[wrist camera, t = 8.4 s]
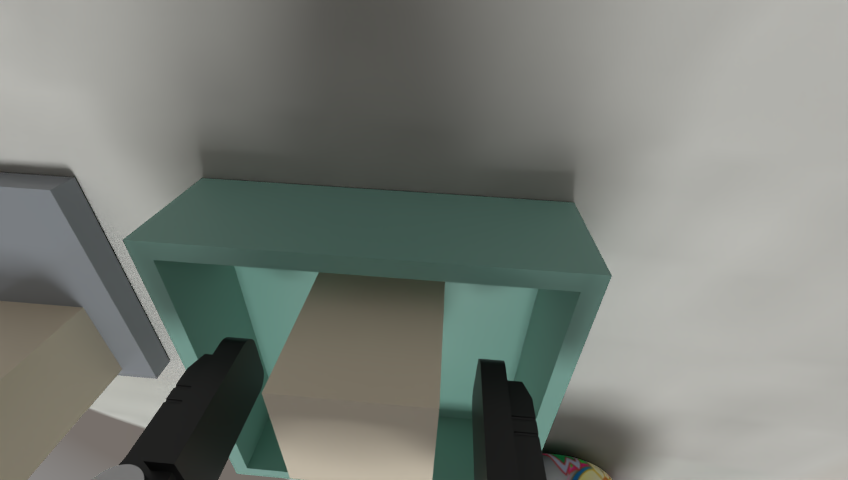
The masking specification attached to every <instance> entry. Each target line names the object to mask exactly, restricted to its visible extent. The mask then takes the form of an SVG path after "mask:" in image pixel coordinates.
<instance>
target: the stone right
mask: <svg viewBox="0 0 848 480" xmlns="http://www.w3.org/2000/svg"><path fill="white" fill-rule="evenodd" d="M444 293H445V282H441V281H427V280H414V279H401V278H387V277H374V276H361V275H347V274H334V273H321V272H319V273H318V275H317V277H316V279H315V282H314V284H313V286H312V288H311V290H310V292H309V294H308V296H307V298H306V301H305V303H304V305H303V307H302V309H301V311H300V313H299V315H298V317H297V320H296V322H295V324H294V326H293V328H292V330H291V332H290V334H289V336H288V338H287V341H286V343H285V345H284V347H283V349H282V351H281V353H280V355H279V357H278V360H277V362H276V364H275V366H274V368H273V370H272V372H271V374H270V376H269V379H268V381H267V383H266V385H265V387H264V389H263V391H262V396H263V399H264V402H265V405H266V408H267V411H268V414H269V417H270V420H271V423H272V426H273V429H274V432H275V435H276V438H277V441H278V444H279V447H280V450H281V453H282V456H283V459H284V462H285V465H286V468H287V471H288V474H289V477H290V478H292V479H302V480H432V477H433V467H434V457H435V448H436V438H437V428H438V418H439V406H440V383H441V361H442V338H443V315H444Z"/></svg>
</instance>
